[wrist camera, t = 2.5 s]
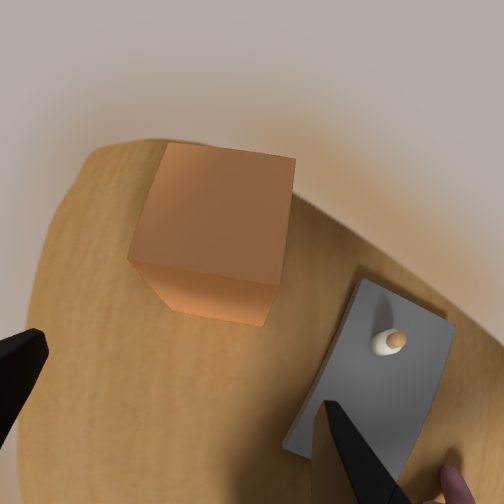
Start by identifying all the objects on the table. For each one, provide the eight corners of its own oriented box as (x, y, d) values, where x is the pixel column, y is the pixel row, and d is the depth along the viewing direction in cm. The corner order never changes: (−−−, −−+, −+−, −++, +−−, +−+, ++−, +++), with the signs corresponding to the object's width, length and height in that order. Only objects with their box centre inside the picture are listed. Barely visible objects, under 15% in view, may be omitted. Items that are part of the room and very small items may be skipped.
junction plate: (385, 479, 17) (414, 495, 13) (280, 444, 18) (291, 460, 14) (445, 328, 22) (479, 316, 18) (356, 283, 23) (379, 262, 19)
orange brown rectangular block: (262, 326, 22) (279, 285, 12) (172, 310, 22) (126, 258, 12) (274, 243, 24) (295, 158, 15) (192, 229, 24) (168, 142, 15)
